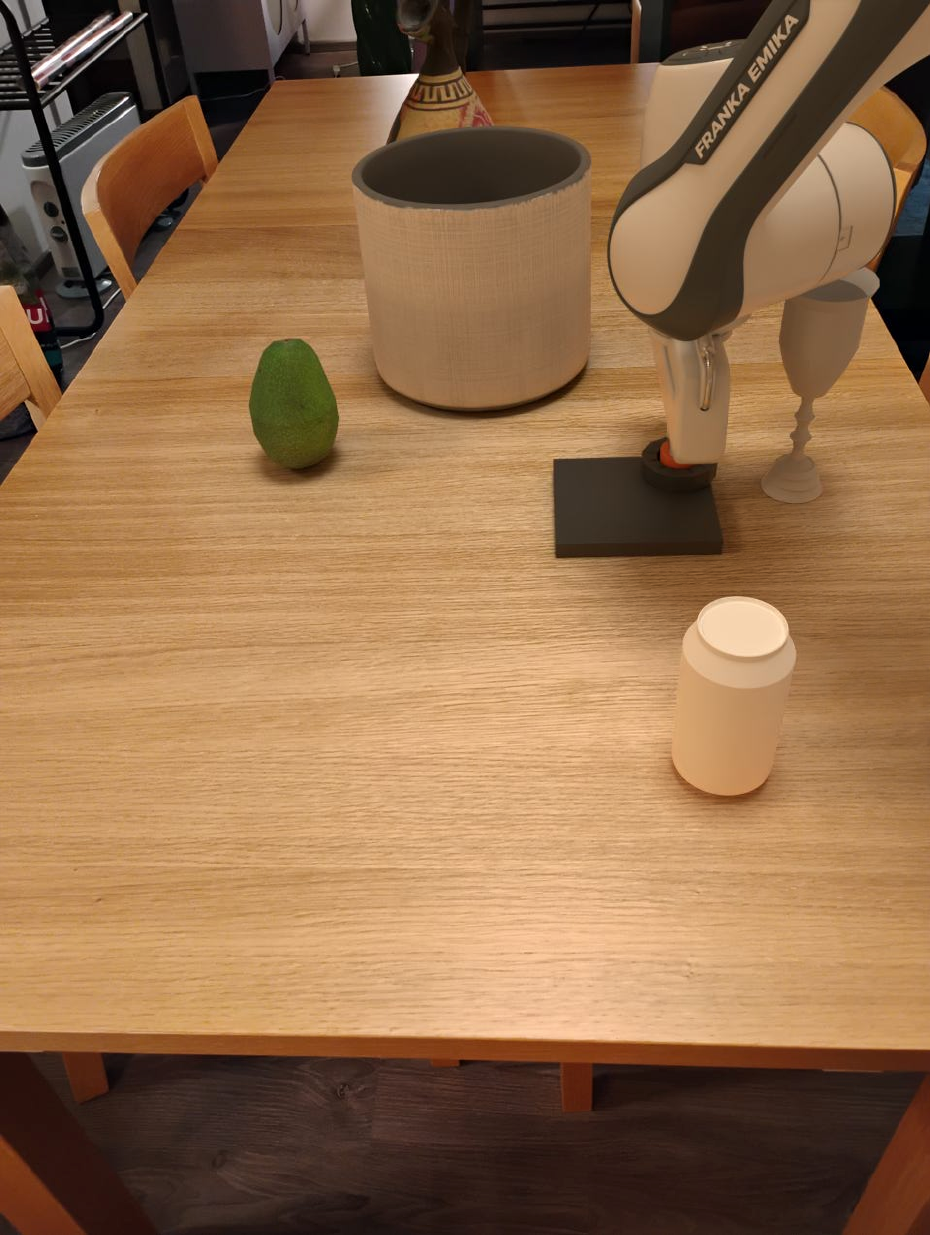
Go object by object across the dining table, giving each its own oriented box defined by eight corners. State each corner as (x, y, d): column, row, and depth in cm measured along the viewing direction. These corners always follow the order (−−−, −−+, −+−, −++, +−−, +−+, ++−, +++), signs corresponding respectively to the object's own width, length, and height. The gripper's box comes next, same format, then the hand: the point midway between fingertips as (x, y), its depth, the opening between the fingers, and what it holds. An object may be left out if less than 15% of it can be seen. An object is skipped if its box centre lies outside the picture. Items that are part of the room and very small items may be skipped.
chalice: (747, 460, 87) (776, 259, 75) (827, 462, 86) (871, 258, 74) (753, 510, 82) (786, 302, 70) (839, 512, 81) (887, 302, 69)
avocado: (363, 457, 92) (344, 337, 84) (295, 495, 88) (268, 373, 80) (310, 428, 96) (287, 311, 88) (243, 463, 92) (213, 343, 84)
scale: (708, 464, 87) (711, 434, 85) (729, 554, 78) (733, 523, 76) (553, 468, 88) (553, 439, 86) (555, 557, 79) (555, 527, 77)
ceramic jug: (470, 280, 119) (450, -12, 98) (365, 259, 125) (327, -18, 105) (538, 228, 129) (533, -46, 109) (438, 212, 135) (416, -49, 115)
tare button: (695, 458, 85) (697, 437, 84) (699, 479, 83) (702, 458, 81) (657, 459, 85) (658, 438, 84) (660, 480, 83) (662, 459, 82)
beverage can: (650, 752, 64) (661, 614, 56) (725, 713, 66) (748, 574, 58) (713, 820, 60) (736, 681, 52) (792, 776, 62) (826, 635, 54)
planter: (633, 351, 103) (643, 147, 89) (493, 446, 92) (480, 228, 78) (474, 299, 115) (462, 111, 101) (333, 377, 103) (298, 177, 90)
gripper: (761, 354, 65) (736, 523, 75) (718, 233, 80) (702, 385, 90) (664, 358, 66) (651, 524, 75) (639, 236, 81) (631, 388, 90)
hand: (678, 448), depth 83 cm, fingers closed, pressing on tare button
